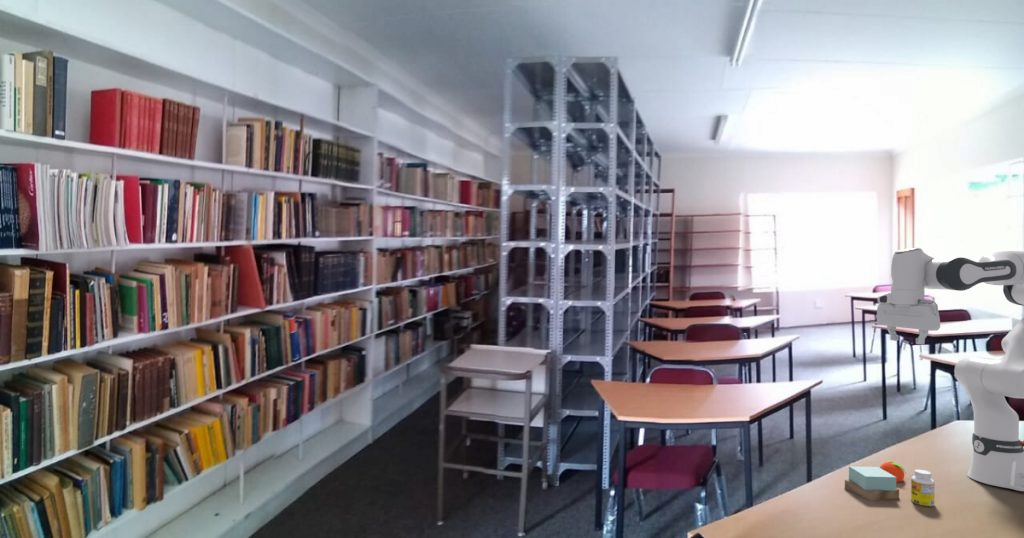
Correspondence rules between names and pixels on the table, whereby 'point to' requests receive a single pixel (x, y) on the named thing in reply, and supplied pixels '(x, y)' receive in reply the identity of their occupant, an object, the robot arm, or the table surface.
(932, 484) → the supplement bottle
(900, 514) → the table surface
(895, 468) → the clementine
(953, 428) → the table surface
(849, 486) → the walnut block
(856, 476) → the teal block
